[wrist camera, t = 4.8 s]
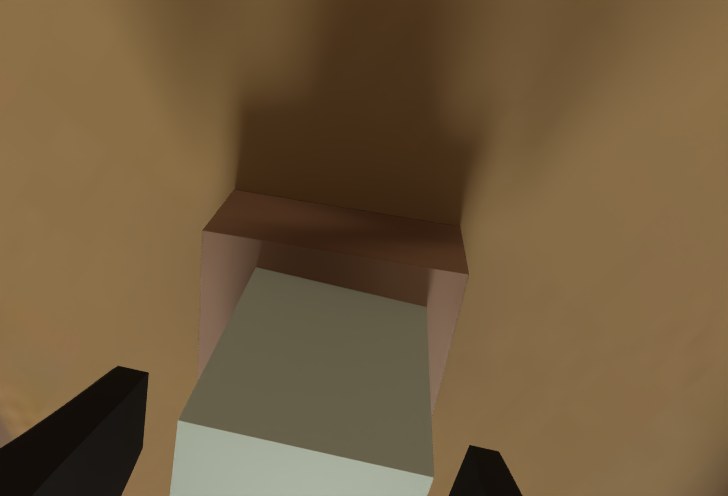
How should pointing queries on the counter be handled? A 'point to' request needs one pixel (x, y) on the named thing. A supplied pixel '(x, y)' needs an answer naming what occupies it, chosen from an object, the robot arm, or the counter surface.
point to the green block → (310, 397)
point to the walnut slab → (332, 262)
